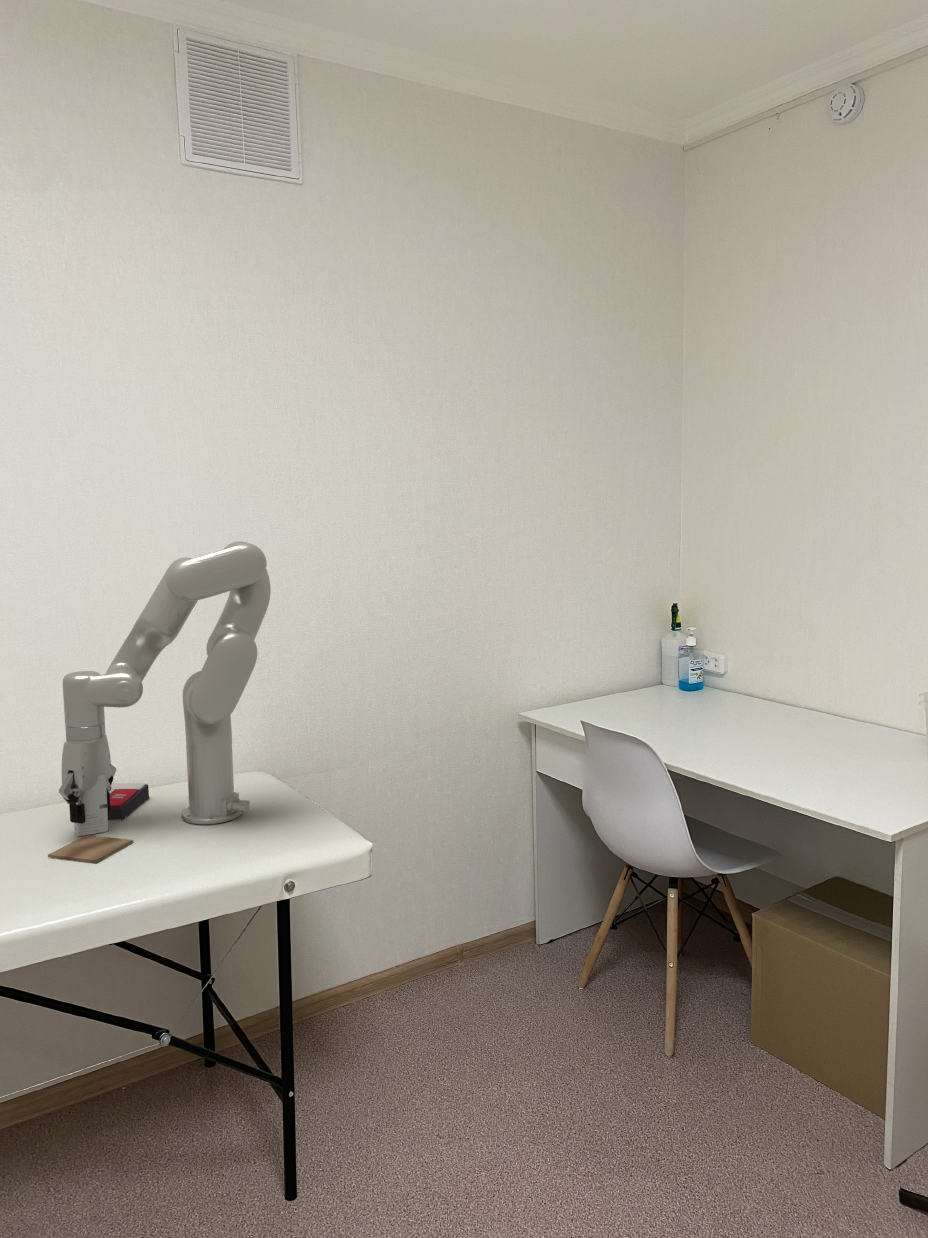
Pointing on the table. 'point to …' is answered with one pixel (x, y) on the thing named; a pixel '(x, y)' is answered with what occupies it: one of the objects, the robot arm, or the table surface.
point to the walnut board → (91, 849)
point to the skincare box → (94, 809)
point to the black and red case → (126, 799)
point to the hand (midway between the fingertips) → (90, 815)
